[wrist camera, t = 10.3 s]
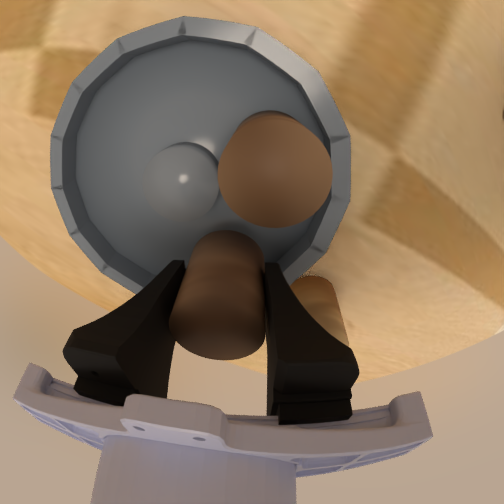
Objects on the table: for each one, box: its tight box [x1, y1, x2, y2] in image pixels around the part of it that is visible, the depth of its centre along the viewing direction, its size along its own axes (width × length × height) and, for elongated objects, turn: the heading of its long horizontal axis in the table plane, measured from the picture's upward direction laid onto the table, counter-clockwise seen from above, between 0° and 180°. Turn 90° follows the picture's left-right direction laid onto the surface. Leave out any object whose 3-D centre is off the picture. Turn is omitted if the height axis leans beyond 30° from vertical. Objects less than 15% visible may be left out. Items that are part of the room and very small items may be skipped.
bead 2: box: [218, 110, 333, 228], centre depth 11 cm, size 4×4×5 cm
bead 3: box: [290, 276, 349, 347], centre depth 18 cm, size 4×4×5 cm
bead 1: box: [169, 230, 265, 360], centre depth 13 cm, size 4×4×5 cm
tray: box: [50, 16, 351, 294], centre depth 14 cm, size 17×17×2 cm
